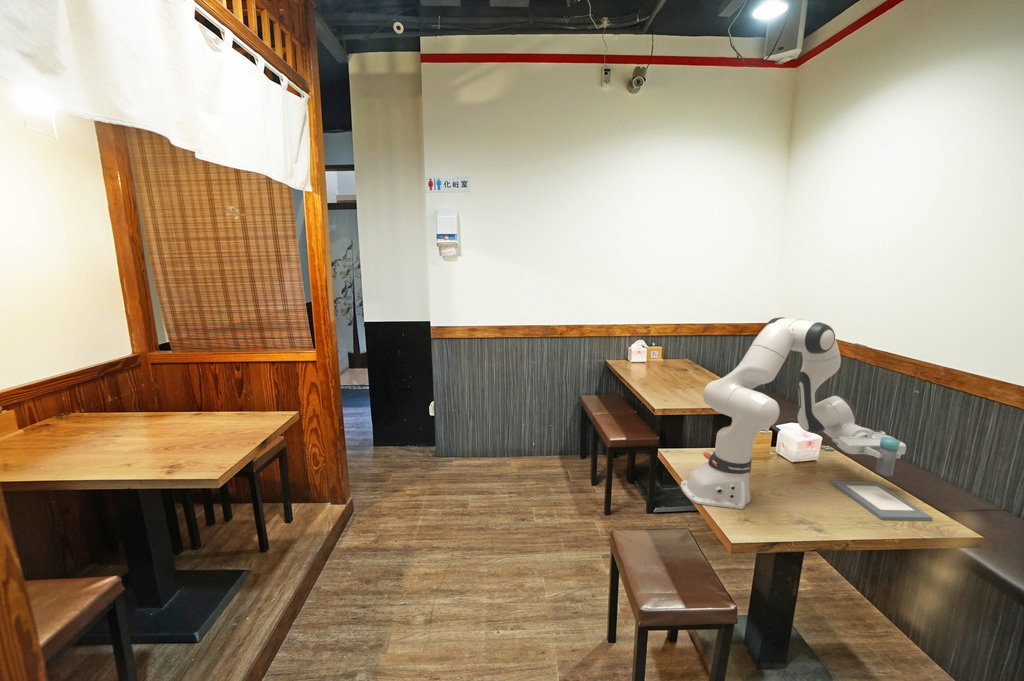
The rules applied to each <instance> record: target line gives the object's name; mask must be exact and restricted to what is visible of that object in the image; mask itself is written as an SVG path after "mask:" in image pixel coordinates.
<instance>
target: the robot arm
mask: <svg viewBox="0 0 1024 681" xmlns="http://www.w3.org/2000/svg"><path fill="white" fill-rule="evenodd" d="M790 351H792V352H799V353H801V356H802V365H801V369H800V371H799V373H798V374H797V376H796V378H797V379H796V390H797V393H796V394H797V411H796V412H797V414H796V420H797V422H798V425H799V426H800V428H801V429H802V430H804V431H805V432H808V433H810V434H817V435H818V434H820V433H822V432H823V433H824V434H826V435H827V436H828V437H830V438H831V442H833V443H835V444H836V447H838V448H839V449H840V450H842V451H843V452H844V453H846V454H850V455H868V456H872V457H875V458H877V459H878V458H883V453H881V452H880V451H879V450H880V440H881V437H890V438H894V439H896V438H895V437H893V436H890V435H887V433H886V432H884V431H882V430H878V429H872V428H871V429H870V428H866V427H864V426H860V425H858V424H856V423H855V422H856V420H857V416H856V415H857V413H856V409H855V406H854V405H853V404H852V402H851V401H849V400H848V399H847V398H845V397H842V396H840V395H832V396H830V397H827V398H825V399H823V400H821V401H819V402H816V392H817V390H818V388H819V387H820V386H821V385H822V384H824V382H826V381H827V380H828V379H830V378H831V377H833V375H834V374H835V375H836V373H837V372H838V371H839V369H840V367H841V365H842V364H841V363H842V362H841V361H842V357H841V352H840V348H839V345H838V342H837V340H836V333H835V331H834V329H833V328H832V327H831V326H830V325H828V324H827V323H823V322H818V321H817V322H815V321H811V320H807V319H803V318H793V317H791V318H790V317H789V318H788V317H774V318H772V319H770V320H769V321H767V323H766V324H765V326H764V328H763V329H762V330H760V331H759V333H758V334H757V336H756V337H755V339H754V340H753V341H752V343H751V345H750V346H749V348H748V349H747V352H746V353H745V355H744V356H743V358H742V360H741V361H740V362H739V364H738V365H737V366H736V367H735V368H734V369H733V370H732V371H731V372H728V374H725V376H723V377H721V378H719V379H716V380H712V381H710V382H709V383H708V384H706V386H705V387H704V390H703V392H702V399H703V402H704V404H705V405H707V406H708V407H709V408H710V409H712V410H714V411H716V412H717V413H720V414H723V415H724V416H728V417H730V418H731V424H730V425H728V426H725V427H722V428H720V429H719V430H718V431H717V433H716V439H715V447H714V451H713V452H712V454H710V453H709V451H704V452H703V457H705V459H707V460H708V461H707V462H706V463H703V464H702V465H700V466H698V467H696V468H694V469H692V470H691V471H690V473H689V476H688V478H687V479H685V480H681V482H680V489H681V492H683V494H684V495H685V496H686V497H687V498H688V499H689V500H690V501H692V502H693V503H695V504H698V505H705V506H714V507H722V508H731V509H738V510H743V509H745V507H746V505H747V504H749V503H750V502H751V500H752V497H751V493H750V473H751V470H752V462H753V460H752V459H751V457H752V451H753V446H754V441H755V439H756V437H757V435H758V434H759V433H760V432H761V431H762V430H764V429H766V428H769V427H771V426H773V425H774V424H775V423H776V422H777V421H778V419H779V417H780V406H779V403H778V402H777V400H775V399H773V398H771V397H770V396H768V395H767V394H765V393H763V392H761V391H760V392H759V391H757V390H754V389H755V388H757V387H758V386H761V385H765V384H768V383H771V382H772V381H774V380H775V378H776V377H777V375H778V373H779V372H780V370H781V368H782V366H783V364H784V363H785V362H786V360H787V357H788V356H789V353H790ZM899 441H900V444H899V449H898V450H897V455H896V459H901V456H902V455H905V454H906V452H907V451H906V450H907V445H906V444H905V442H903V441H901V440H899ZM685 492H686V493H685Z"/></svg>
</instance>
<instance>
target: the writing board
mask: <svg viewBox="0 0 1024 681" xmlns="http://www.w3.org/2000/svg"><path fill="white" fill-rule="evenodd" d="M831 485H833V486H834V487H835V488H837V490H839V491H840V492H842V493H843V494H845V495H846V496H848V497H849V498H850V499H852V500H853V501H855V502H856V503H858V504H859V505H860V506H861V507H863V508H865V509H866V510H867V511H868V512H870V513H872V515H874V516H875V517H877V518H878V519H879V520H880V521H916V522H917V521H918V522H920V521H921V522H925V521H926V522H931V521H933V518H934V517H933V516H931V515H929V514H928V513H927V512H925V511H923V510H922V509H920V508H919V507H917V506H915V505H914V504H912V503H911V502H909V501H907V500H905V499H904V498H902V496H900V495H898V494H897V493H895V492H893V491H892V490H890V489H888V488H886V487H885V486H883V485H882V484H880V483H879V482H877V481H858V480H857V481H856V480H853V481H852V480H851V481H850V480H831Z"/></svg>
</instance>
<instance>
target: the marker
mask: <svg viewBox="0 0 1024 681" xmlns="http://www.w3.org/2000/svg"><path fill="white" fill-rule="evenodd" d="M894 438H895V437H893V438H890V437H881V440H880V450H879V451H880V452H881V453H883V458H877V461H876V467H875V472H876V473H877V474H879V475H881V476H885V477H892V476H893V474H894V470H895V464H896V460H897V458H896V455H897V450H898V449H899V444H900V441H901V440H899V439H897V438H895V439H894Z"/></svg>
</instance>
